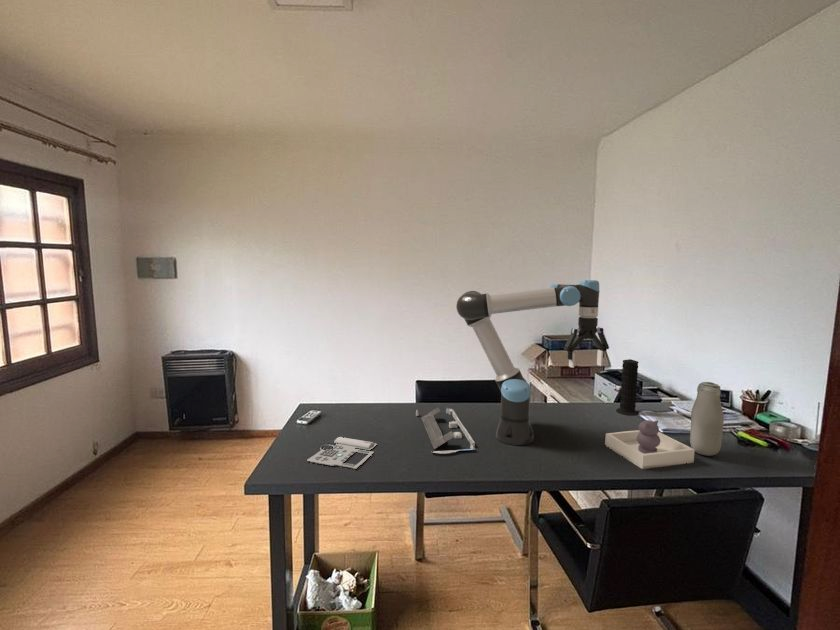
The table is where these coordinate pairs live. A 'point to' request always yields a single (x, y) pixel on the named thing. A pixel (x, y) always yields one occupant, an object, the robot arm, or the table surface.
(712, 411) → the beige milk bottle
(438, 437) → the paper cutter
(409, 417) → the table surface
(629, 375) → the handle grip
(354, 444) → the office telephone
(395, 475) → the table surface
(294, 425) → the table surface
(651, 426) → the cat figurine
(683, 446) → the tray
